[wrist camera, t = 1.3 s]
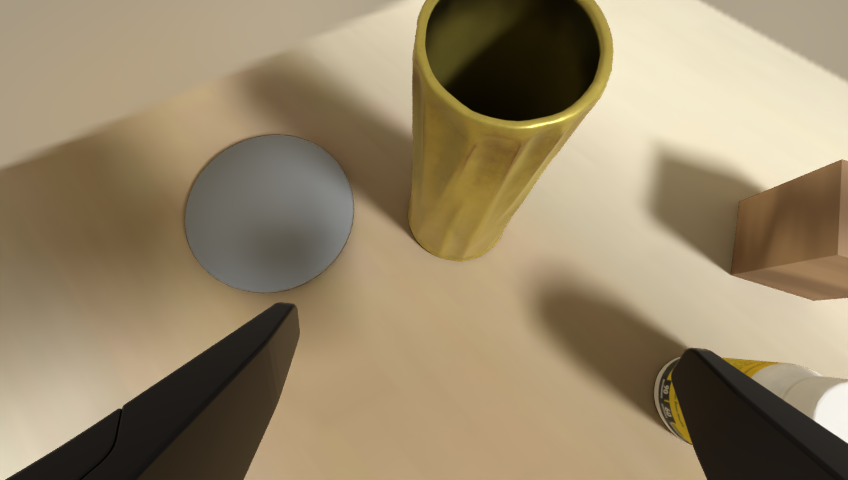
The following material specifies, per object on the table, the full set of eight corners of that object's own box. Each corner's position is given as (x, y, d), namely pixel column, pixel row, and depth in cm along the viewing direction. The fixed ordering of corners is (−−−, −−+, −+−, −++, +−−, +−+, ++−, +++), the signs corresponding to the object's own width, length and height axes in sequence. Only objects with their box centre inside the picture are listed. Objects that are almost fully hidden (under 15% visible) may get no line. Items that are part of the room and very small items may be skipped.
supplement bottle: (635, 372, 21) (772, 395, 13) (707, 342, 22) (881, 347, 14) (678, 460, 20) (856, 546, 12) (752, 427, 21) (971, 487, 12)
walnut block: (812, 300, 22) (951, 288, 17) (730, 275, 23) (837, 254, 17) (817, 225, 24) (947, 189, 18) (738, 201, 24) (841, 159, 18)
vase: (419, 271, 22) (424, 168, 9) (398, 179, 24) (374, -36, 10) (516, 249, 23) (670, 119, 9) (490, 160, 24) (588, -70, 10)
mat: (275, 328, 21) (272, 328, 21) (156, 224, 23) (149, 221, 22) (386, 200, 23) (385, 196, 23) (270, 112, 25) (267, 106, 24)
